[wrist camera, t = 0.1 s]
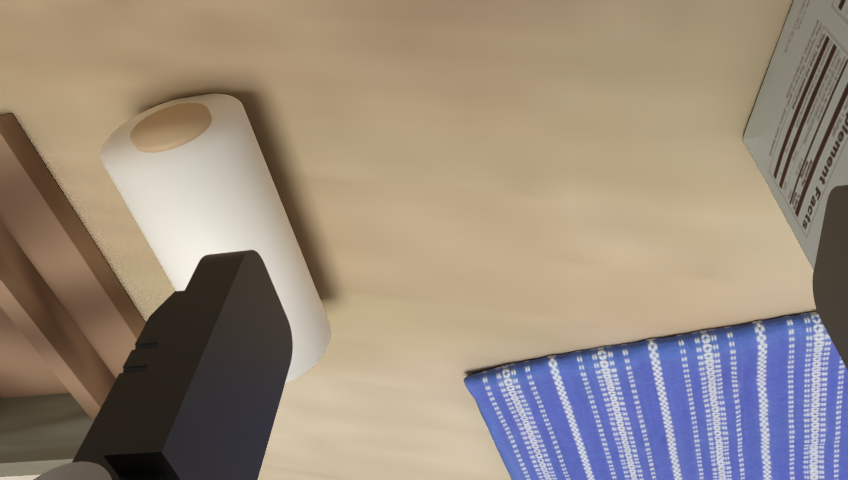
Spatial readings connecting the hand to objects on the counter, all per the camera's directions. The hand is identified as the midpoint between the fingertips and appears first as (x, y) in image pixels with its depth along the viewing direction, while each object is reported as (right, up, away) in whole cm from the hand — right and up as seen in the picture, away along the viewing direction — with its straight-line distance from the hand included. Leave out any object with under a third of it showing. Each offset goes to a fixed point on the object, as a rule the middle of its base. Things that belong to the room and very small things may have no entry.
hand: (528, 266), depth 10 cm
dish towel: (+15, -10, +31) cm, 36 cm away
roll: (-10, +2, +22) cm, 24 cm away
